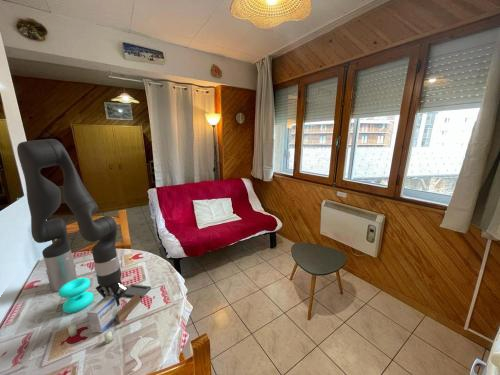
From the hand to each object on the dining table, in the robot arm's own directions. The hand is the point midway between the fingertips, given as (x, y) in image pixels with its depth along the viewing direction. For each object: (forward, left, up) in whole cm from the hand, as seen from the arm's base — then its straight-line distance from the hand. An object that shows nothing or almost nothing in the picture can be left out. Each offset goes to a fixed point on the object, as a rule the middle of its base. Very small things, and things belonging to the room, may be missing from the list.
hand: (115, 306), depth 79 cm
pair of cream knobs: (0, -11, -3) cm, 11 cm away
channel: (0, +1, -3) cm, 3 cm away
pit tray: (0, +11, -3) cm, 12 cm away
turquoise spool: (-19, +1, -3) cm, 20 cm away
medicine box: (0, -5, -3) cm, 6 cm away
